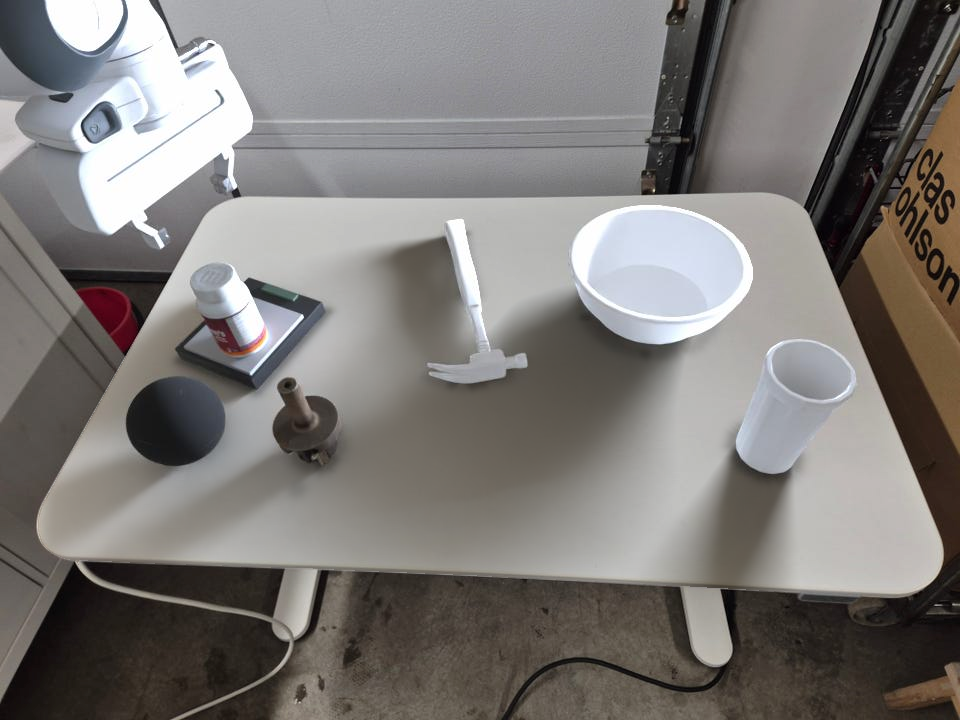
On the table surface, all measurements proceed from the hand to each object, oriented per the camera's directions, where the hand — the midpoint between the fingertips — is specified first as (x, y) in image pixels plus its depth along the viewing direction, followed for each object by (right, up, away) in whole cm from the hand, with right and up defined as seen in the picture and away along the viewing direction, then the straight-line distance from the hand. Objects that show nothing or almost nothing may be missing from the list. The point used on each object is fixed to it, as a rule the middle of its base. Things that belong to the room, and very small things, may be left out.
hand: (195, 216), depth 61 cm
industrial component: (+9, -25, +10) cm, 29 cm away
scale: (-2, -11, +23) cm, 25 cm away
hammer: (+26, -6, +25) cm, 36 cm away
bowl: (+51, -7, +22) cm, 56 cm away
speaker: (-5, -25, +12) cm, 28 cm away
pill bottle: (-2, -12, +18) cm, 22 cm away
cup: (+60, -25, +7) cm, 65 cm away
